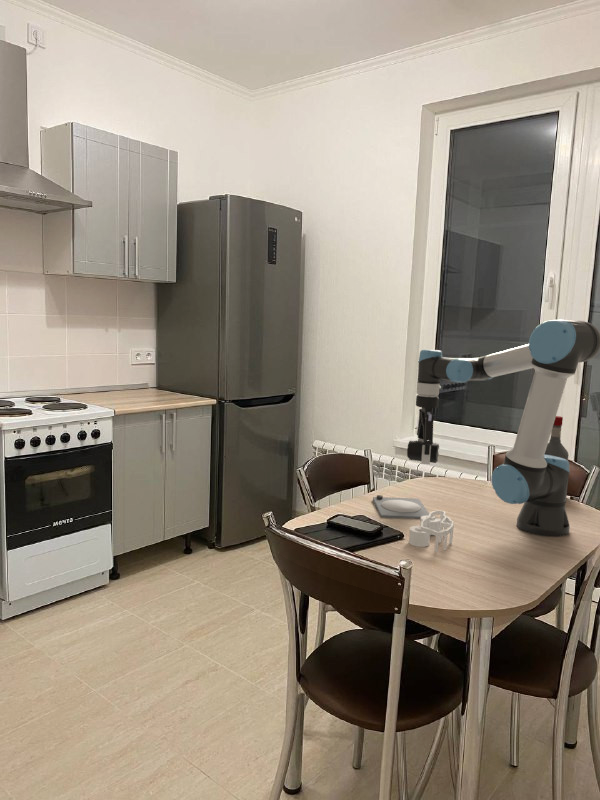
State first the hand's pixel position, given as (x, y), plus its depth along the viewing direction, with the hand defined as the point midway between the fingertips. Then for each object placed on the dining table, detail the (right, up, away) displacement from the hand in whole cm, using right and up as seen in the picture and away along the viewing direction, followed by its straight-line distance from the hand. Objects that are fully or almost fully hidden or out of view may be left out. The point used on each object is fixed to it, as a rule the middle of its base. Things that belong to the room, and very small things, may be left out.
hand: (422, 460), depth 214 cm
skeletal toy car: (-4, -21, -37) cm, 42 cm away
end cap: (0, -1, 0) cm, 1 cm away
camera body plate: (-9, -16, -7) cm, 20 cm away
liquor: (+52, -15, +20) cm, 58 cm away
